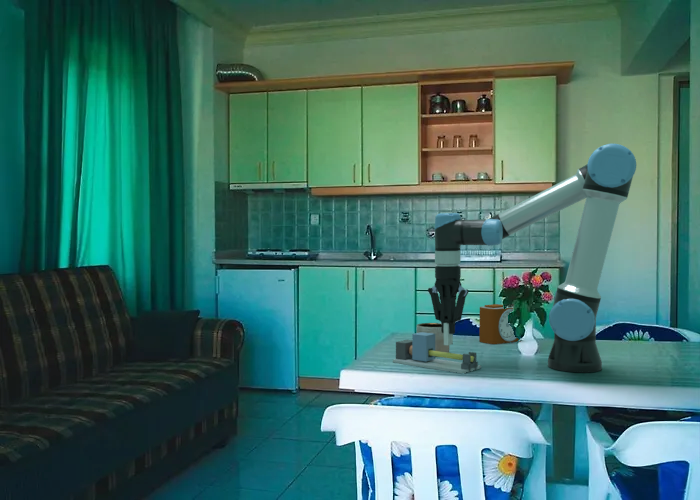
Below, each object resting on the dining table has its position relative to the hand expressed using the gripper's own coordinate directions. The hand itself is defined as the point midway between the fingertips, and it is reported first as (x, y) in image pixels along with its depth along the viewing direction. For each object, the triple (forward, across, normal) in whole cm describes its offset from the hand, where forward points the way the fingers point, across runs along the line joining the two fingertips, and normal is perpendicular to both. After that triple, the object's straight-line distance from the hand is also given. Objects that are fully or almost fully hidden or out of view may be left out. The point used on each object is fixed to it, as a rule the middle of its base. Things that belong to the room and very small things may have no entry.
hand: (448, 344), depth 195 cm
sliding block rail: (+7, +4, 0) cm, 8 cm away
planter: (+7, +15, -15) cm, 22 cm away
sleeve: (+5, +9, 0) cm, 10 cm away
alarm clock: (+7, +10, -52) cm, 53 cm away
